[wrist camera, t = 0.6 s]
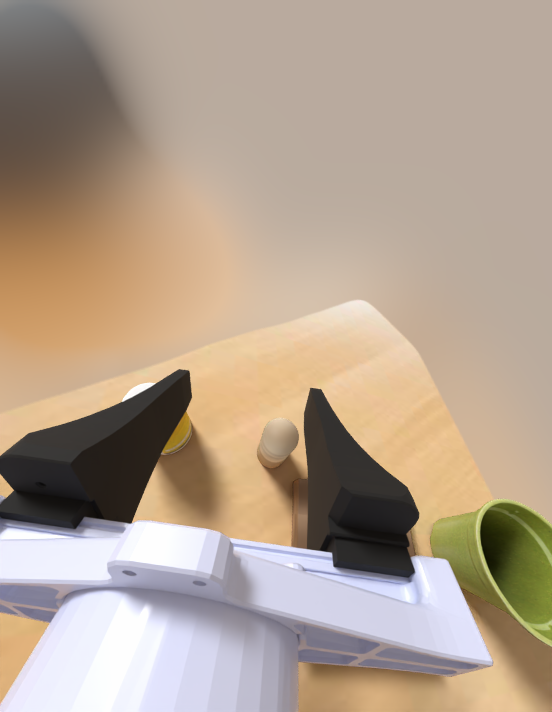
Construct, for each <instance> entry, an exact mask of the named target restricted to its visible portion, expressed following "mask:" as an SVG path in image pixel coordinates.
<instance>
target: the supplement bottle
mask: <svg viewBox="0 0 552 712" xmlns="http://www.w3.org/2000/svg"><path fill="white" fill-rule="evenodd" d="M154 384H156V383H144V384H141V385H138V386H136V387H134V388H133V389H131V390H130V391H129V392H128V393H127V394H126V395H125V397H124V399H123V401H125V400H127V399H129V398H131V397H133V396H135V395H137V394H139V393H140V392H142V391H144V390H146V389H148V388H149V387H151V386H153V385H154ZM123 401H122V402H123ZM191 434H192V423H191V420H190V418H189V416H188V414H187V412H185V414H184V416H183V417H182V419H181V421H180V422H179V424H178V426H177V427H176V429H175V431H174V432H173V434H172V435H171V437H170V439H169V440H168V442H167V444H166V445H165V447H164V449H163V451H162V453H161V455H168V454H172V453H175V452H177V451H179V450H180V449H182V448H183V447H184V446H185V445H186V444H187V442H188V441H189V439H190V437H191Z"/></svg>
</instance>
